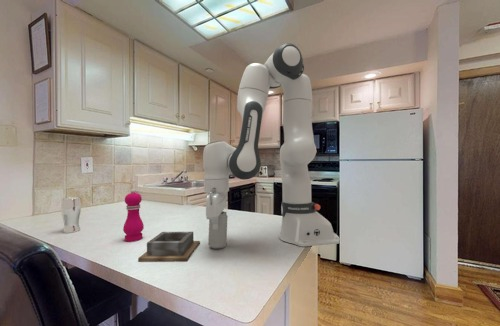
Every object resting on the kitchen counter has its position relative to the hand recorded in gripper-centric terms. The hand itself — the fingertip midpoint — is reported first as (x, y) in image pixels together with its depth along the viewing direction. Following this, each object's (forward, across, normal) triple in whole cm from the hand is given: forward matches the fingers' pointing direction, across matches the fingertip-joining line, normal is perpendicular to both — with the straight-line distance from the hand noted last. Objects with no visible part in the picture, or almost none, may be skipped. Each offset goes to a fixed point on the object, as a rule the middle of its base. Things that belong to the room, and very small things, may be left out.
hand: (217, 225), depth 78 cm
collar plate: (+7, -4, +15) cm, 17 cm away
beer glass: (+6, +20, +71) cm, 74 cm away
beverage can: (+7, 0, 0) cm, 7 cm away
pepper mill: (+7, +9, +36) cm, 37 cm away
